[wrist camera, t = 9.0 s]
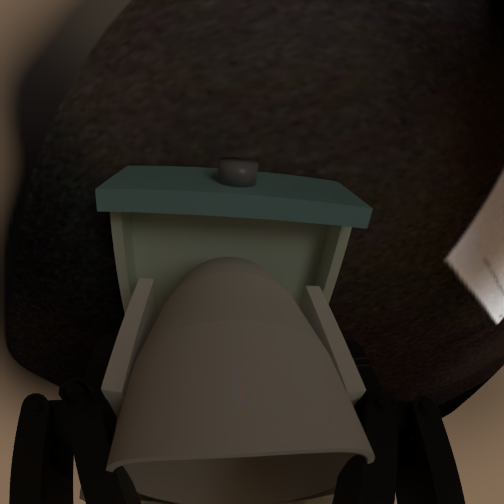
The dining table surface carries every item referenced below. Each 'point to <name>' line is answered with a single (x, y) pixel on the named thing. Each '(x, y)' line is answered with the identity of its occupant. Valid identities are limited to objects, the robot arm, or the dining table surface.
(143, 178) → the teal drawer
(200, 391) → the cup
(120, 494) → the robot arm
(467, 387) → the dining table surface
